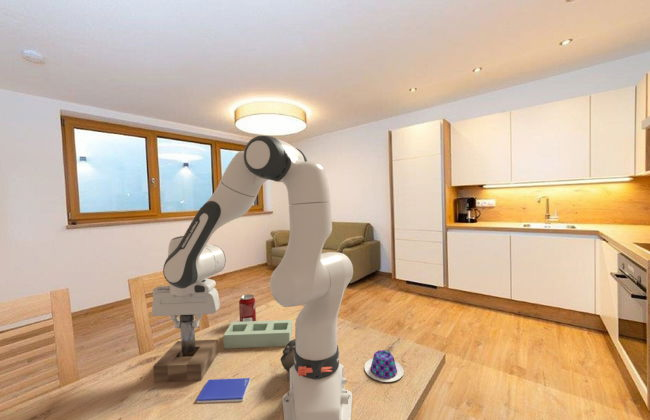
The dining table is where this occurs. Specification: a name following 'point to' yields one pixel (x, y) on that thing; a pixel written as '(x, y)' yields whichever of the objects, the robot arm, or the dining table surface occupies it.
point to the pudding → (383, 367)
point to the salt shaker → (187, 333)
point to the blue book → (224, 390)
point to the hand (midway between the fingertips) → (187, 327)
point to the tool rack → (258, 334)
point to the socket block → (186, 362)
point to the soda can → (247, 308)
